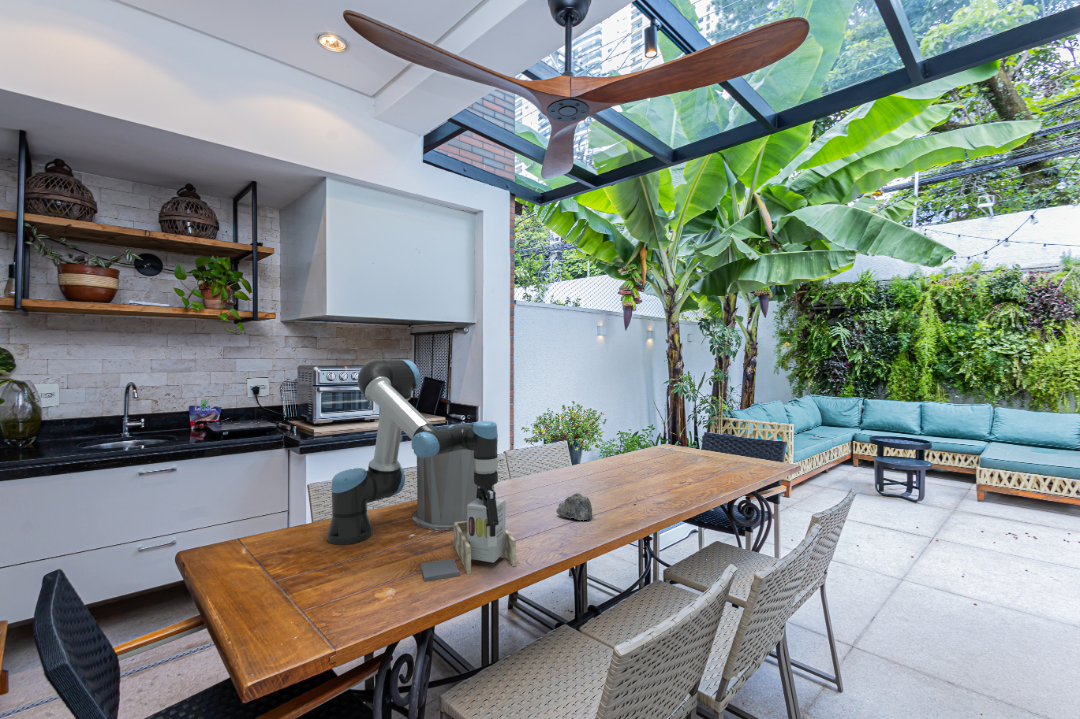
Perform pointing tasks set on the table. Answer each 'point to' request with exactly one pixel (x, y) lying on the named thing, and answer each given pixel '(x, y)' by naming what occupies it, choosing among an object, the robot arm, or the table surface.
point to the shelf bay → (465, 549)
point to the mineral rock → (576, 507)
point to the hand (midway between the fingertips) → (486, 538)
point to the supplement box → (484, 531)
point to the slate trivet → (439, 569)
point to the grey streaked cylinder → (444, 489)
